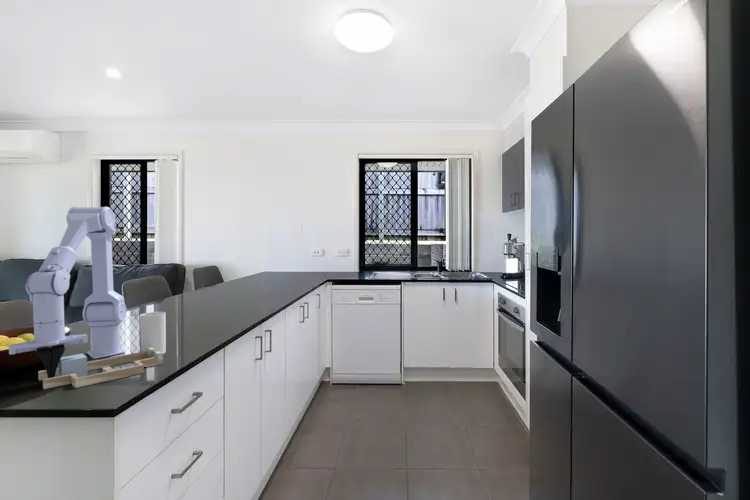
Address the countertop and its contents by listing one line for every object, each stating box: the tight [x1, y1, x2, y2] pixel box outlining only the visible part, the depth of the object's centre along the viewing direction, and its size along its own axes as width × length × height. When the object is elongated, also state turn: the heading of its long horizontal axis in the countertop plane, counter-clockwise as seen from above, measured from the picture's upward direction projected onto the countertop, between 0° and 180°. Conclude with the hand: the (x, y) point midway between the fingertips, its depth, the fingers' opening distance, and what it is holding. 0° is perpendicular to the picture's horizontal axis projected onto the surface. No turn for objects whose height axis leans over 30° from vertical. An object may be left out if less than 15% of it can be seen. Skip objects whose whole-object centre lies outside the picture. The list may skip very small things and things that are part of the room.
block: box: [57, 353, 89, 377], centre depth 99 cm, size 5×5×5 cm
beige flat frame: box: [37, 347, 164, 390], centre depth 102 cm, size 14×25×3 cm, turn 135°
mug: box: [139, 311, 167, 355], centre depth 121 cm, size 10×7×12 cm, turn 20°
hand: (51, 377), depth 96 cm, fingers closed
